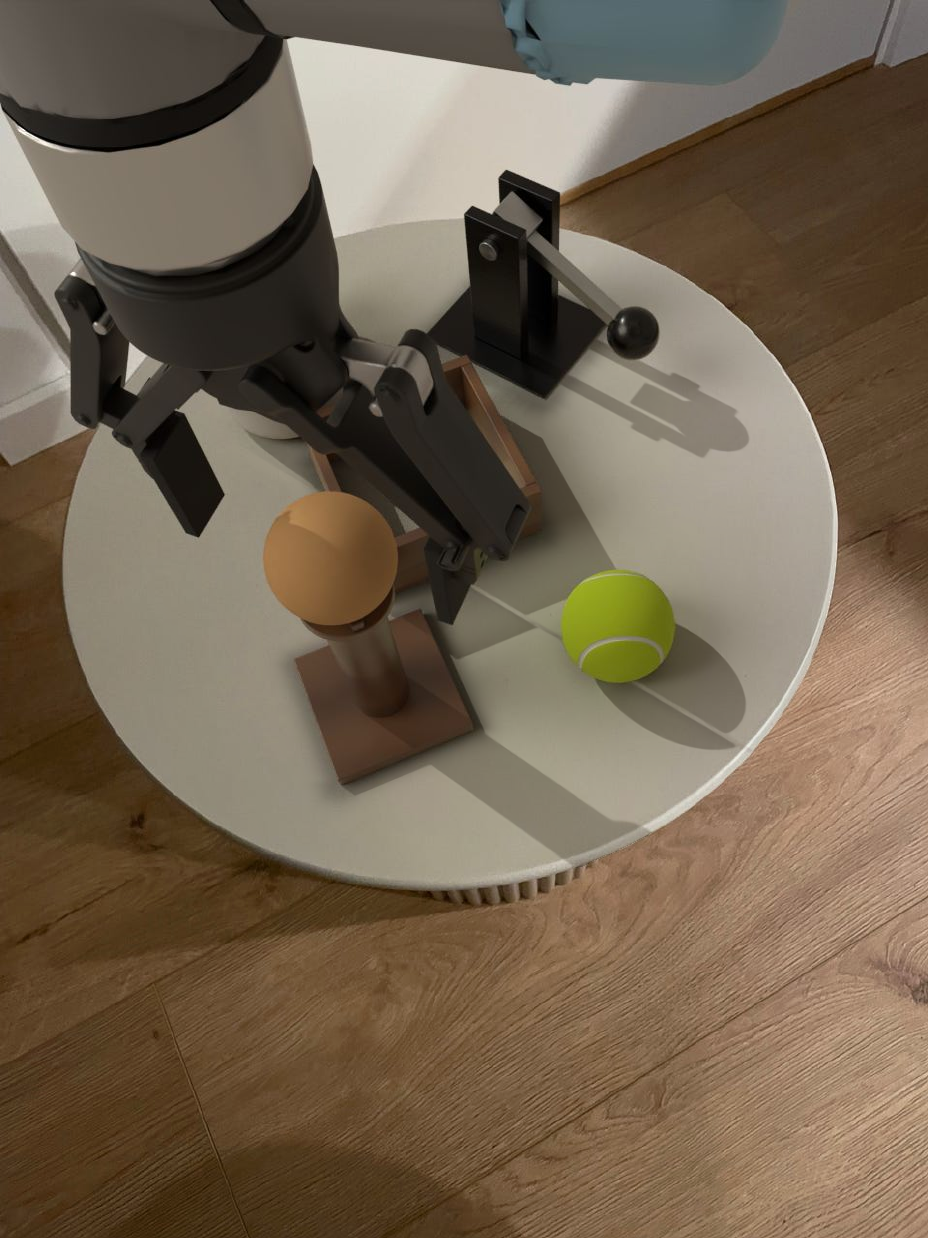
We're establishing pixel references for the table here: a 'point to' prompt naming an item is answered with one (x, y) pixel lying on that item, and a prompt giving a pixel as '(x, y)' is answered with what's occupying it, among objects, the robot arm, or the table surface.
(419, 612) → the stand
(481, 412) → the bin
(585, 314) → the bracket
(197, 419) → the table surface
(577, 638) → the tennis ball
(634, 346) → the lever
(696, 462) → the table surface
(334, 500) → the cork ball
